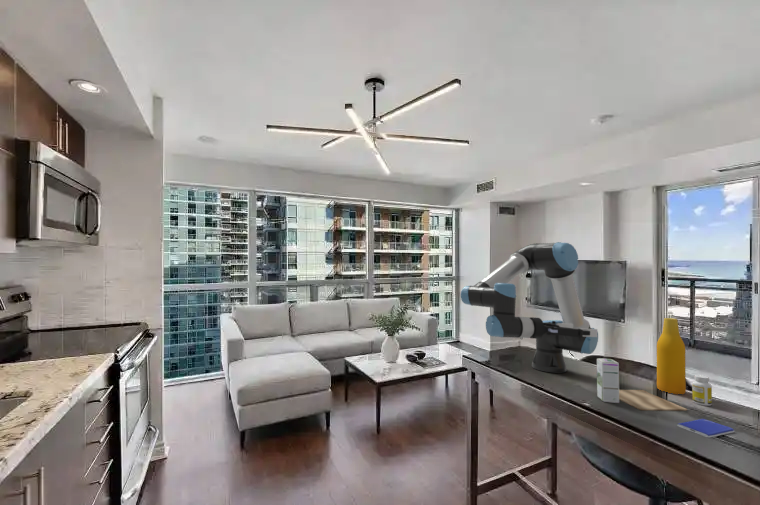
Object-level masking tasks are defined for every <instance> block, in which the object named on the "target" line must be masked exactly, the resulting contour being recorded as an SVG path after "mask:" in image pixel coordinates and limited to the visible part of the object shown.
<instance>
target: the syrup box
mask: <svg viewBox="0 0 760 505" xmlns="http://www.w3.org/2000/svg"><path fill="white" fill-rule="evenodd" d="M619 368H620V364H619V362H617V361H616V360H614V359H611V358H605V357H604V358H596V397H597V399H599V400H601V401H602V402H605V403H615V404H620V400H619V390H620V372H619V371H620V369H619Z"/></svg>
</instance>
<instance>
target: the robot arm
mask: <svg viewBox="0 0 760 505" xmlns="http://www.w3.org/2000/svg"><path fill="white" fill-rule="evenodd" d="M578 265H579V255H578V252H577V249H576V248H575V247H574V245H572V244H570V242H562V241H561V242H559V241H558V242H545V243H544V242H542V243H541V242H540V243H532V244H528V245H526V246H523V247H521V248H520V249H517V250H516V251H514V252H513V253H511V255H509V256H508V258H507V260H506V261H504V262H503V263H502V264H501V265H499V266H498V267H497V268H495V269H494V270H493V271H491V272H490V273H489V274H488V275H486V276H484V278H482V279H481V280H479V281H478V282H477V283H476V284H474V285H466V286H464V287H463V288H462V289H461V291H460V300H461V301H462V303H463V304H465V305H469V306H475V307H477V306H478V307H485V308H491V309H493V312H492V314H491V315H488V316H487V317H486V321H485V331H486V333H487V334H488V335H489V336H490V337H495V338H496V337H498V338H515V339H520V340H523V339H535V341H536V342H535V353H534V356H533V358H532V362H531V367H532V368H533V369H534V370H537V371H540V372H546V373H555V374H556V373H557V374H561V373H566V372H567V364H566V361H565V357H564V354H563V353H564V352H563V350H565V351H568V352H574V353H580V354H581V355H583V354H586V355H591V354H592V353H594V352H595V350H596V349H597V345H598V342H599V331H598V329H597V328H594V327H591V324H590V322H589V321H588V319H585V317H584V313H583V309H582V306H581V302H580V298H579V295H578V292H577V291H578V290H577V287H576V283H575V279H574V276H573V275H574V273H575V272H576V269H577V268H578ZM532 270H534V271H535V270H537V271H544V273H545V276H546V277H547V279H549V280H550V281H551V284H552V288H553V291H554V296H555V298H556V302H557V305H558V308H559V312H560V315H561V319H562V320H561V319H559V320H558V319H557V320H556V319H555V320H553V319H552V320H549V319H548V320H543V319H541V318H540V317H533V316H532V317H528V316H516V300H517V298H516V297H517V295H516V294H517V292H516V291H517V290H516V288H517V287H516V285H515V284H514V283H510V282H512V280H514V279H515V278H516V277H518V276H519V275H520V274H525V273H526V272H528V271H532Z"/></svg>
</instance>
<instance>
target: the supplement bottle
mask: <svg viewBox="0 0 760 505" xmlns="http://www.w3.org/2000/svg"><path fill="white" fill-rule="evenodd" d="M709 382H710V378H709V377H708V376H706V375H702V374H701V375H700V374H695V375H694V380H693V381H692V382H691V384H692V385H691V386H692V387H691V390H692V391H691V394H692V403H694V404H696V405H700V406H706V407H709V406H710V407H711V406H712V405H713V396H712V395H713V392H712V384H710V383H709Z"/></svg>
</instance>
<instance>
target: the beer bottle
mask: <svg viewBox="0 0 760 505" xmlns="http://www.w3.org/2000/svg"><path fill="white" fill-rule="evenodd" d="M686 350H687V349H686V345H685V343H684V341H683V338H682V337H681V335H680V329H679V322H678V319H677V318H670V317H664V318H663V325H662V332H661V334H660V335H659V338H658V340H657V342H656V388H657V389H659V391H660V390H661V391H660V392H663V391H665V392H664V393H666V392H668V393H667V394H671V393H673V394H672V395H678V394H682V395H685V394H686V390H687V385H686V384H687V383H686V375H687V374H686Z"/></svg>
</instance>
